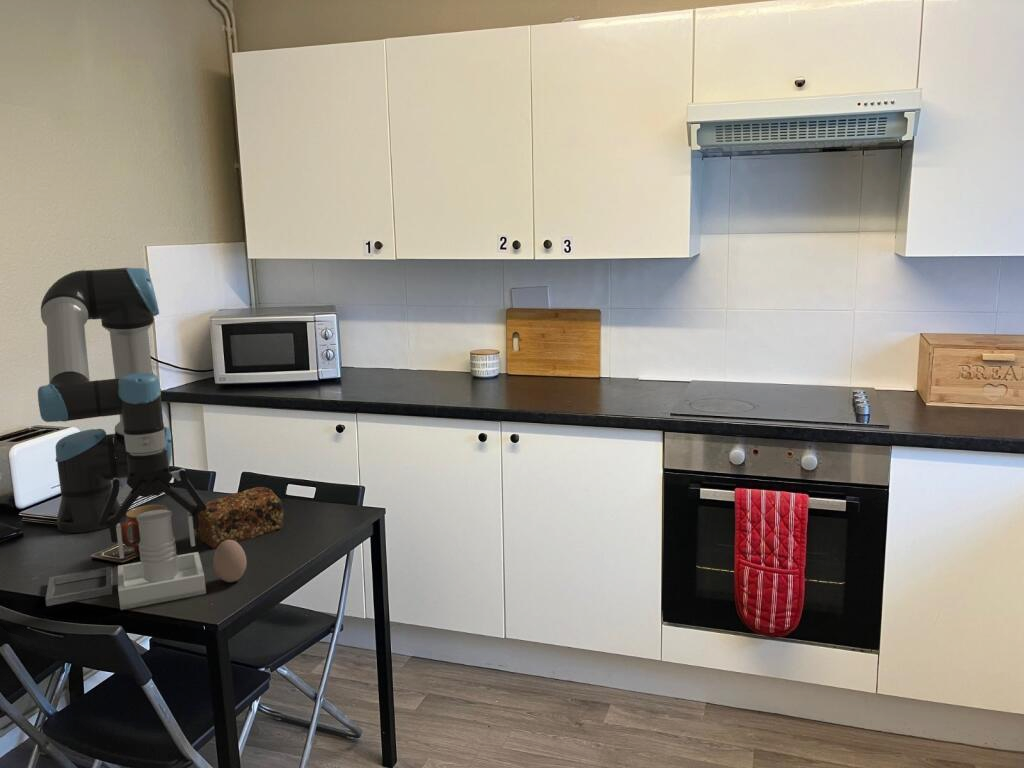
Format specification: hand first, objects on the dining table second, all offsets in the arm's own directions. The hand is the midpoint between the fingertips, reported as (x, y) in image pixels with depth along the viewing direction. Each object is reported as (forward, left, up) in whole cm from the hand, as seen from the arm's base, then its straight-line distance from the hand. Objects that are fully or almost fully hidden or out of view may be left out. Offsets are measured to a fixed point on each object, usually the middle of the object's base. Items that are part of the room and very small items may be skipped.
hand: (157, 550), depth 178 cm
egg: (+3, +14, -9) cm, 16 cm away
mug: (-21, -2, -9) cm, 23 cm away
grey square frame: (-8, -15, -8) cm, 19 cm away
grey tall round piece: (0, 0, -7) cm, 8 cm away
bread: (-25, +19, -9) cm, 32 cm away
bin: (0, 0, -8) cm, 8 cm away
